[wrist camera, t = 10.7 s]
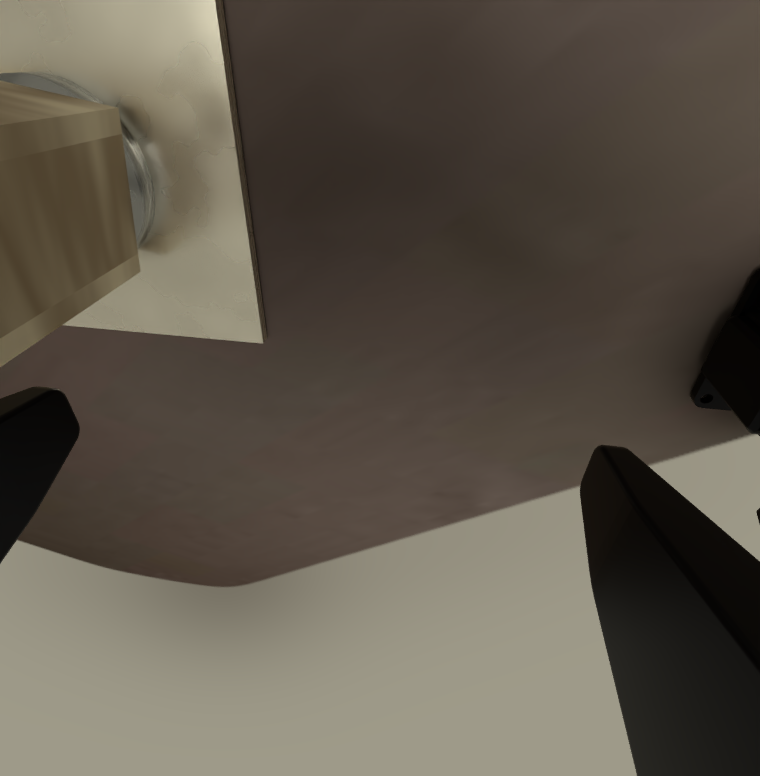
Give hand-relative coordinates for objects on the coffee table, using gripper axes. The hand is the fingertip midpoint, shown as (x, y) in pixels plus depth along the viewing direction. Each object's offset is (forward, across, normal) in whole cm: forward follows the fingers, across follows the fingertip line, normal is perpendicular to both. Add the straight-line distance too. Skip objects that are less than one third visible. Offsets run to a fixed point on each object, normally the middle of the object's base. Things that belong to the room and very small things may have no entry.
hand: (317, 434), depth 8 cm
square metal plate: (+13, +13, -1) cm, 18 cm away
